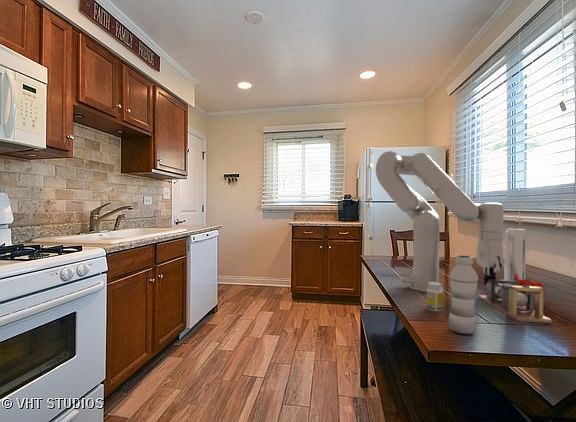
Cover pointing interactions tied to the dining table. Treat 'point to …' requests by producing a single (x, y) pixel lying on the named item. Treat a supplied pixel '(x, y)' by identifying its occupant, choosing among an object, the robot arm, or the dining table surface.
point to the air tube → (521, 297)
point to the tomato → (529, 283)
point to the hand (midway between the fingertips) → (489, 285)
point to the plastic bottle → (463, 296)
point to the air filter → (515, 254)
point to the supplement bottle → (435, 296)
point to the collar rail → (510, 301)
